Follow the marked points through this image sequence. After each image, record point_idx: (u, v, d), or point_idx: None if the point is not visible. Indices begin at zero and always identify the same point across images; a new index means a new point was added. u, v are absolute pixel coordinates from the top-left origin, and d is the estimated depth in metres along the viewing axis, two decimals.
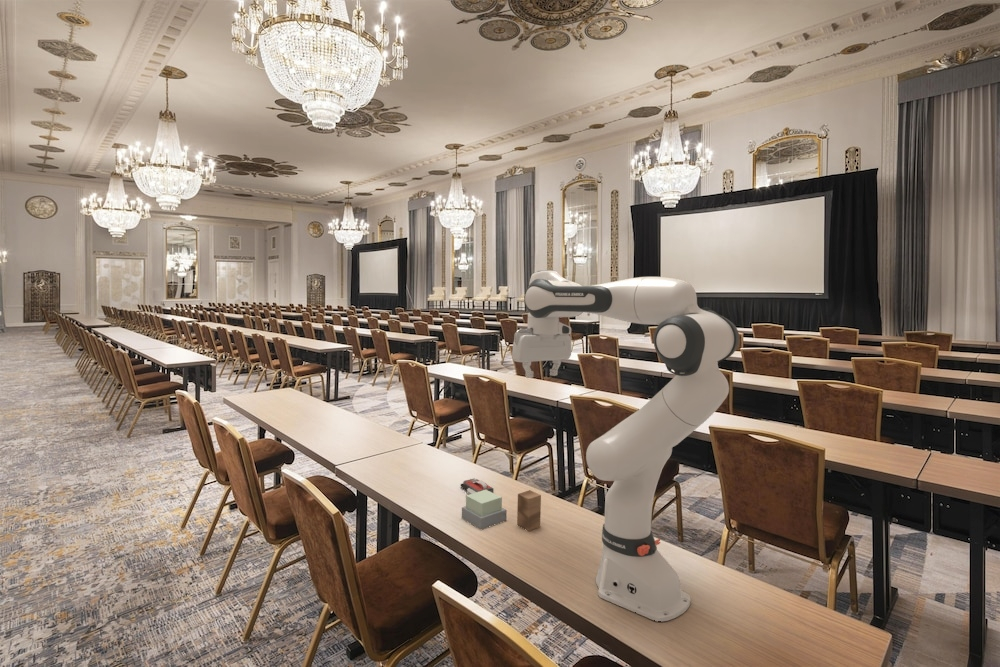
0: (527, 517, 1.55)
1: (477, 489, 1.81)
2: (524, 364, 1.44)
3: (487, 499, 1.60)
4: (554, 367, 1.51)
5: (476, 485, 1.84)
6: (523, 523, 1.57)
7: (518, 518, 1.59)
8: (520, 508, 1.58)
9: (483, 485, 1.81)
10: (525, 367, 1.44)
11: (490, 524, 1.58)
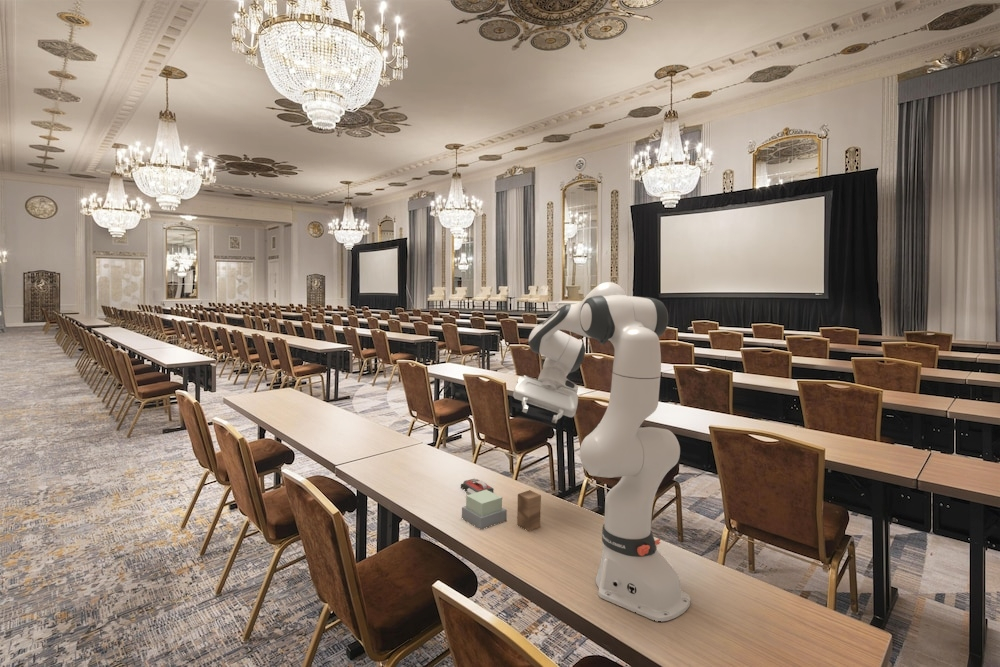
0: (527, 517, 1.55)
1: (477, 489, 1.81)
2: (522, 400, 1.61)
3: (487, 499, 1.60)
4: None
5: (476, 485, 1.84)
6: (523, 523, 1.57)
7: (518, 518, 1.59)
8: (520, 508, 1.58)
9: (483, 485, 1.82)
10: (522, 402, 1.60)
11: (490, 524, 1.58)
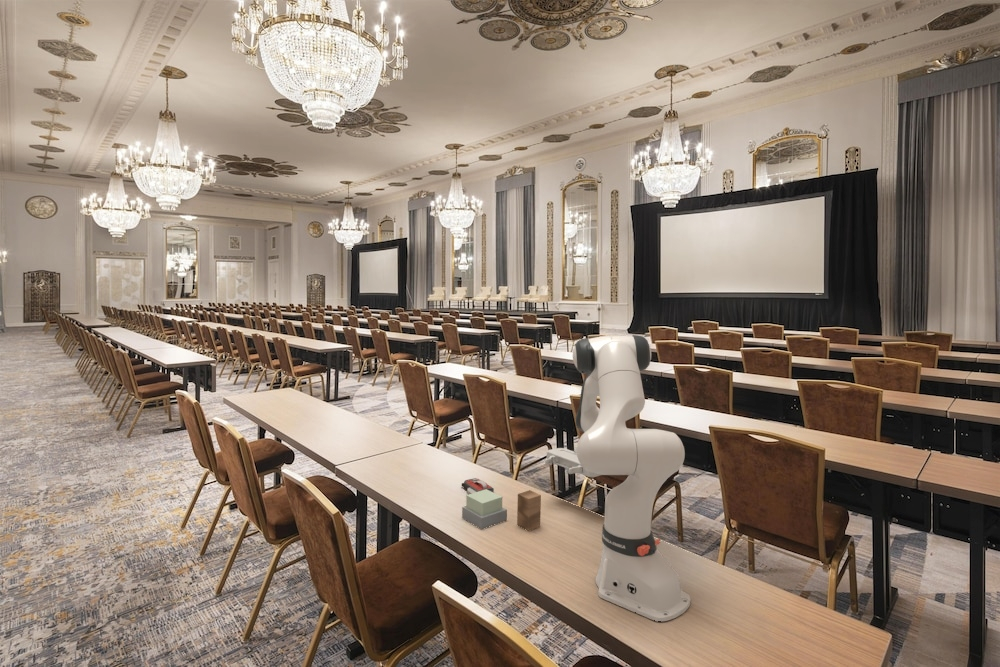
0: (527, 517, 1.55)
1: (477, 489, 1.81)
2: None
3: (487, 498, 1.60)
4: None
5: (477, 485, 1.84)
6: (523, 523, 1.57)
7: (518, 518, 1.59)
8: (520, 508, 1.58)
9: (483, 485, 1.82)
10: None
11: (490, 524, 1.58)
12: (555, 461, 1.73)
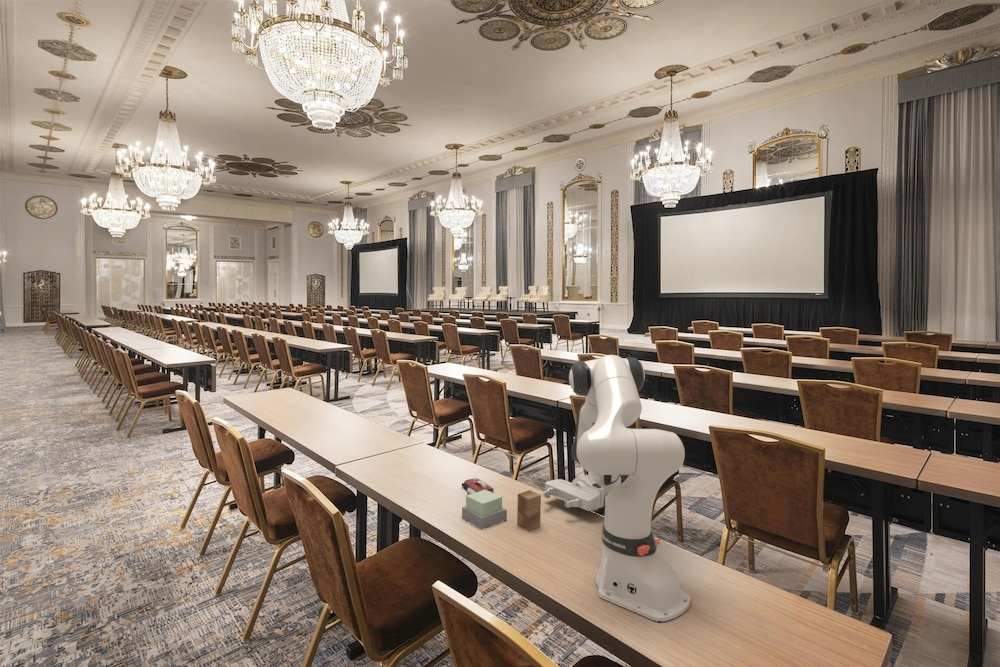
0: (527, 517, 1.55)
1: (477, 489, 1.81)
2: None
3: (487, 499, 1.60)
4: None
5: (477, 485, 1.84)
6: (523, 523, 1.57)
7: (518, 518, 1.59)
8: (520, 508, 1.58)
9: (483, 485, 1.82)
10: None
11: (490, 524, 1.58)
12: (553, 493, 1.73)
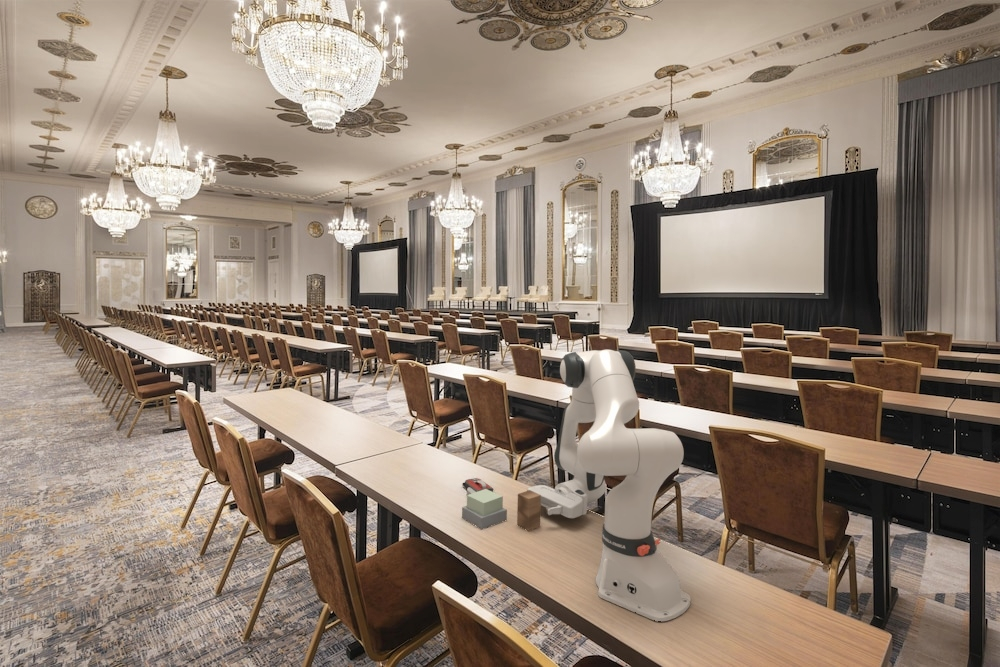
0: (527, 517, 1.55)
1: (476, 488, 1.81)
2: None
3: (488, 498, 1.61)
4: None
5: (477, 485, 1.84)
6: (523, 523, 1.57)
7: (518, 518, 1.59)
8: (520, 508, 1.58)
9: (482, 485, 1.82)
10: None
11: (490, 524, 1.59)
12: None
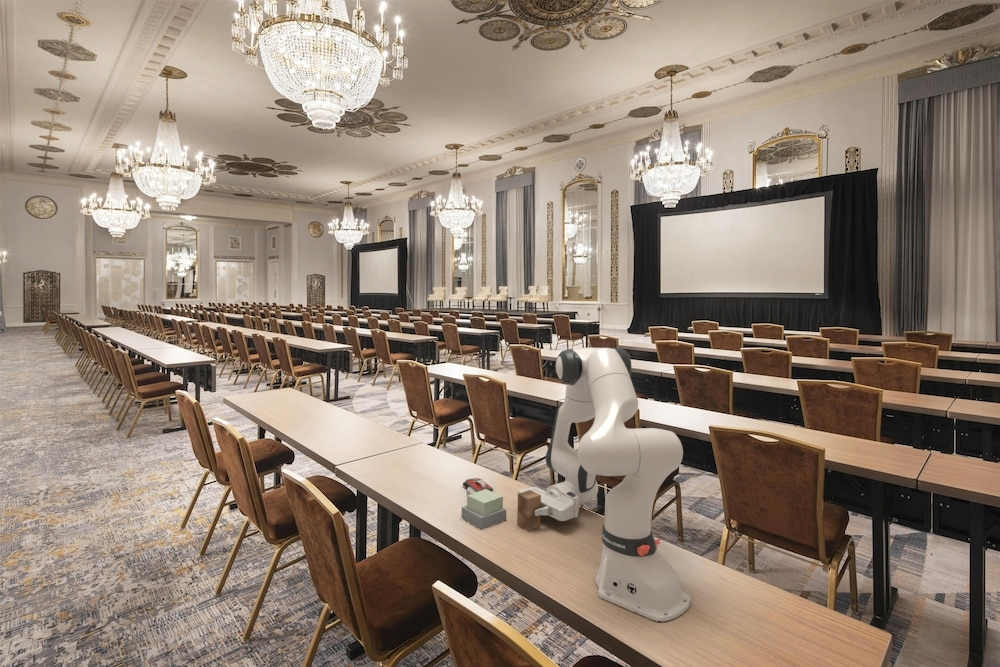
0: (527, 517, 1.55)
1: (476, 488, 1.82)
2: None
3: (488, 498, 1.61)
4: None
5: (477, 484, 1.85)
6: (523, 523, 1.57)
7: (518, 518, 1.59)
8: (520, 508, 1.58)
9: (482, 485, 1.82)
10: None
11: (490, 524, 1.58)
12: None
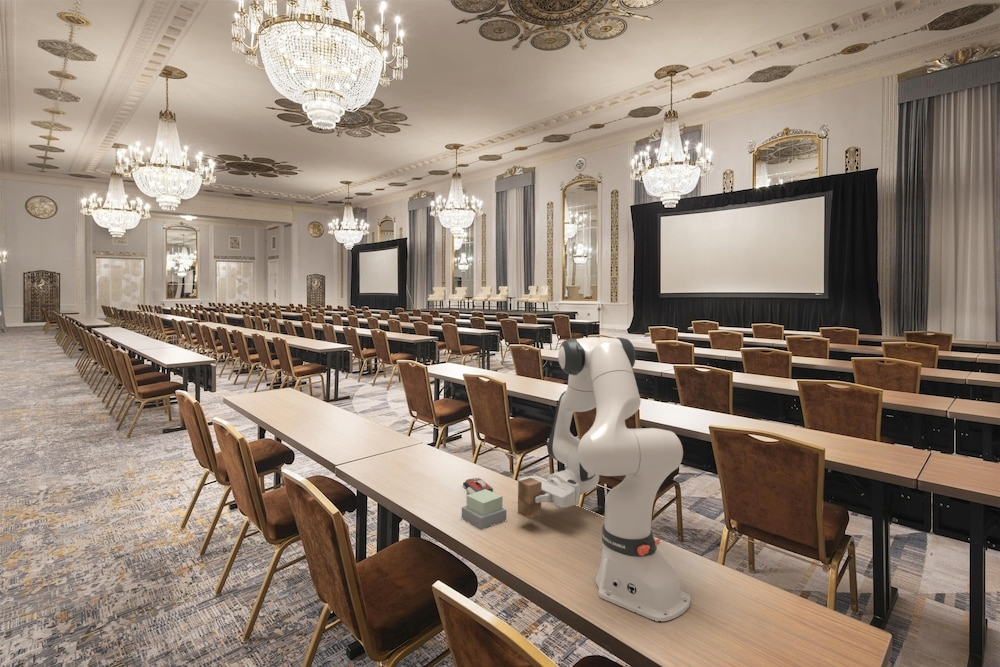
0: (528, 504, 1.55)
1: (476, 488, 1.82)
2: None
3: (488, 498, 1.61)
4: None
5: (477, 485, 1.85)
6: (524, 510, 1.56)
7: (519, 505, 1.58)
8: (521, 496, 1.57)
9: (482, 485, 1.82)
10: None
11: (490, 524, 1.58)
12: None
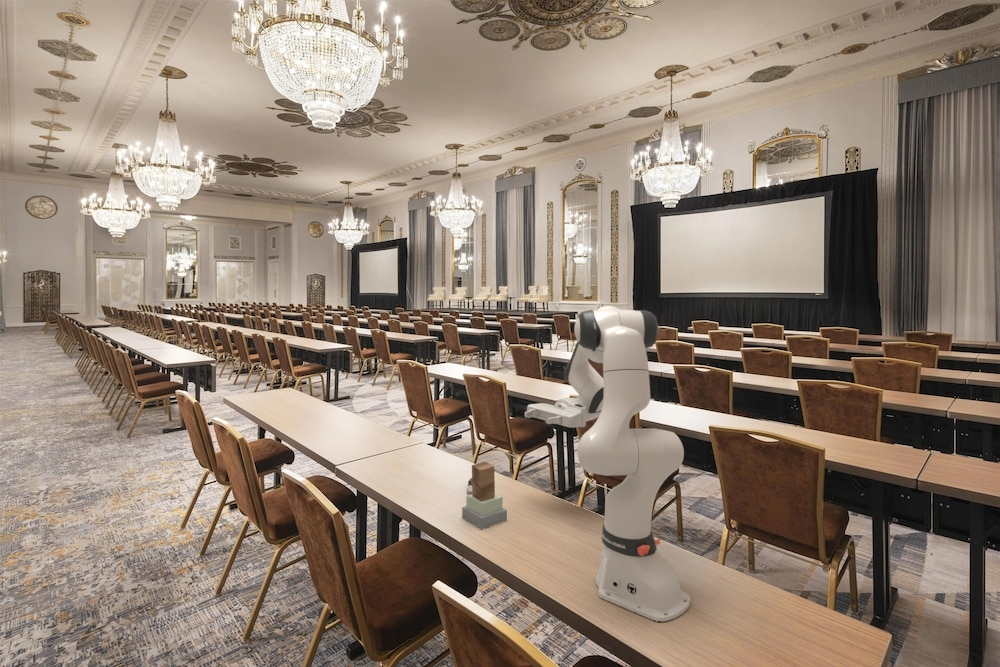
0: (480, 488, 1.58)
1: None
2: None
3: None
4: None
5: None
6: (477, 493, 1.60)
7: (473, 489, 1.62)
8: (474, 479, 1.60)
9: None
10: None
11: (490, 524, 1.58)
12: (535, 414, 1.70)
